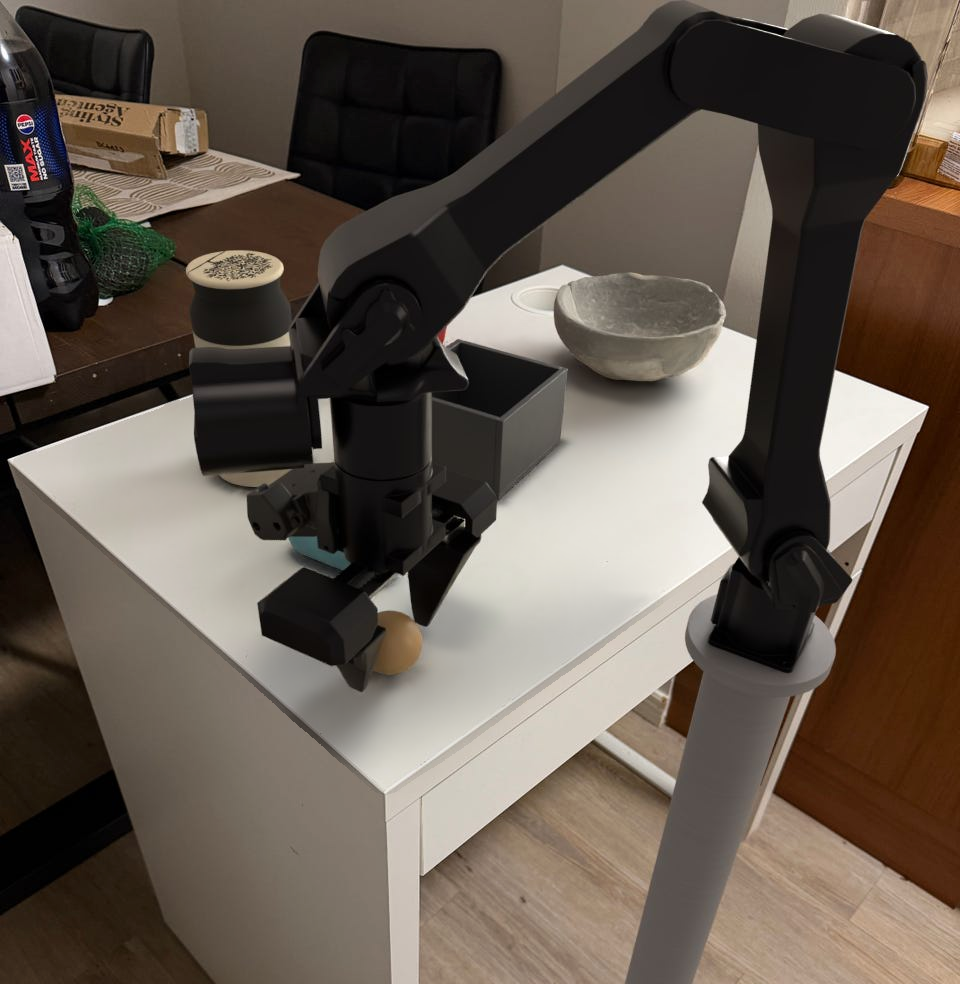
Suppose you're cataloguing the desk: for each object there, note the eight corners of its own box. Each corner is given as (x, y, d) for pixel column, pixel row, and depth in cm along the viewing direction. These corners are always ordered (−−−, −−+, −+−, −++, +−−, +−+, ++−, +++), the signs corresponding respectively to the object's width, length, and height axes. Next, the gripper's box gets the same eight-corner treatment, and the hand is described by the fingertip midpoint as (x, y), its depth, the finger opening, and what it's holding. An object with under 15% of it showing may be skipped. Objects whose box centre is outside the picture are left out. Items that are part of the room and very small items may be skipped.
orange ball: (434, 659, 67) (434, 611, 64) (399, 696, 64) (398, 647, 61) (382, 638, 69) (380, 589, 66) (346, 673, 66) (342, 624, 63)
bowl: (519, 377, 102) (523, 303, 97) (592, 324, 113) (600, 256, 108) (674, 424, 95) (688, 347, 90) (736, 362, 107) (751, 291, 101)
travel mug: (323, 459, 87) (306, 260, 76) (269, 499, 82) (242, 292, 70) (254, 437, 90) (227, 242, 78) (197, 474, 85) (160, 270, 73)
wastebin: (560, 443, 91) (567, 368, 86) (498, 500, 83) (503, 421, 78) (456, 411, 96) (457, 338, 91) (388, 463, 87) (385, 386, 82)
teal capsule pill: (406, 571, 75) (405, 533, 72) (380, 595, 72) (378, 557, 70) (308, 534, 78) (305, 497, 76) (280, 555, 76) (276, 518, 74)
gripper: (363, 365, 65) (372, 552, 75) (165, 486, 52) (209, 691, 62) (506, 407, 61) (495, 599, 71) (329, 550, 48) (347, 758, 58)
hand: (390, 655), depth 66 cm, fingers open, 8 cm apart
